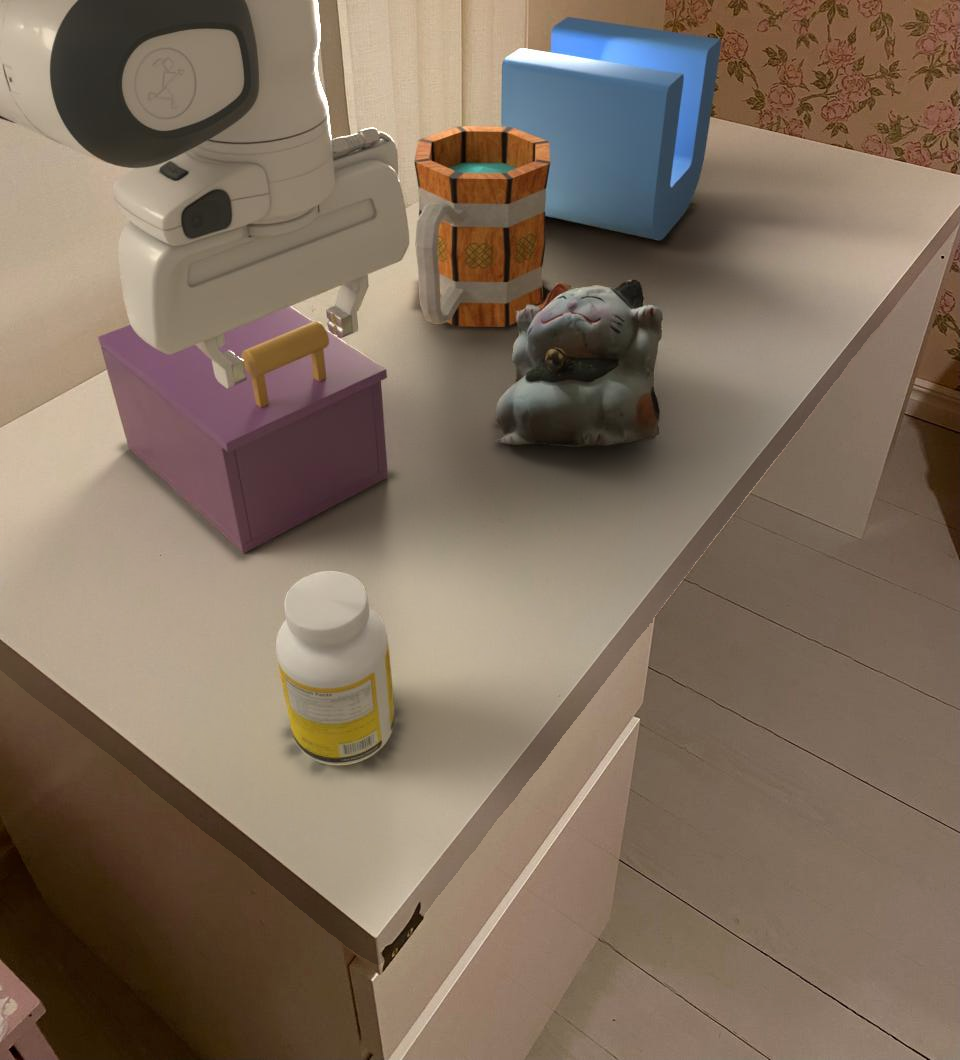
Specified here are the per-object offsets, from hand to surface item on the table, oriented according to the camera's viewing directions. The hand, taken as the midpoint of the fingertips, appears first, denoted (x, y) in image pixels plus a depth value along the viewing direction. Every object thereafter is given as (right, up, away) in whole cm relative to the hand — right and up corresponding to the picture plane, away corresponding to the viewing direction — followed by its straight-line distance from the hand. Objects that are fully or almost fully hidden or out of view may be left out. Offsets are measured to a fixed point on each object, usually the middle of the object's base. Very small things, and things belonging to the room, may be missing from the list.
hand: (289, 356), depth 73 cm
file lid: (-5, +1, +6) cm, 8 cm away
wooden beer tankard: (+12, +10, +32) cm, 36 cm away
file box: (-5, -7, +13) cm, 16 cm away
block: (+28, +25, +50) cm, 62 cm away
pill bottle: (+5, -25, -7) cm, 26 cm away
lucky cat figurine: (+21, -3, +17) cm, 28 cm away
